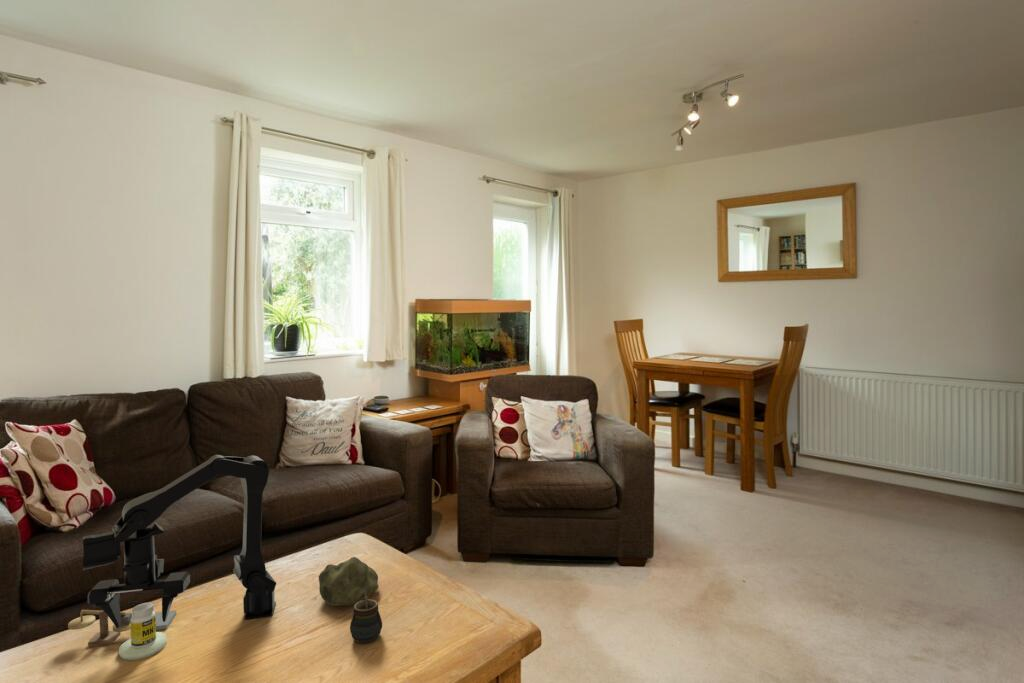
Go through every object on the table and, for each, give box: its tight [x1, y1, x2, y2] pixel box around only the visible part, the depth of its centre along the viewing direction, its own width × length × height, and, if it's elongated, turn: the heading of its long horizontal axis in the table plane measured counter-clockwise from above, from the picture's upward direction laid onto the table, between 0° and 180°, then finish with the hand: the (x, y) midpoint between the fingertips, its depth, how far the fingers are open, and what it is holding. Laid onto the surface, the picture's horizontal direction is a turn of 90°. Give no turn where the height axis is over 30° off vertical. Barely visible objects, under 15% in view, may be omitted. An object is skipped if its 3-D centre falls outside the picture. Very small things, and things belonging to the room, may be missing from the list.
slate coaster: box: [155, 609, 177, 631], centre depth 137 cm, size 7×7×1 cm
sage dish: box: [118, 631, 168, 661], centre depth 127 cm, size 9×9×1 cm
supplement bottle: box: [130, 602, 157, 648], centre depth 127 cm, size 5×5×8 cm
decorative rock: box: [318, 556, 379, 607], centre depth 150 cm, size 15×16×10 cm
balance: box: [67, 609, 132, 648], centre depth 130 cm, size 14×5×8 cm, turn 105°
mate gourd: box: [349, 589, 383, 644], centre depth 131 cm, size 7×8×10 cm
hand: (142, 623), depth 127 cm, fingers open, 9 cm apart
